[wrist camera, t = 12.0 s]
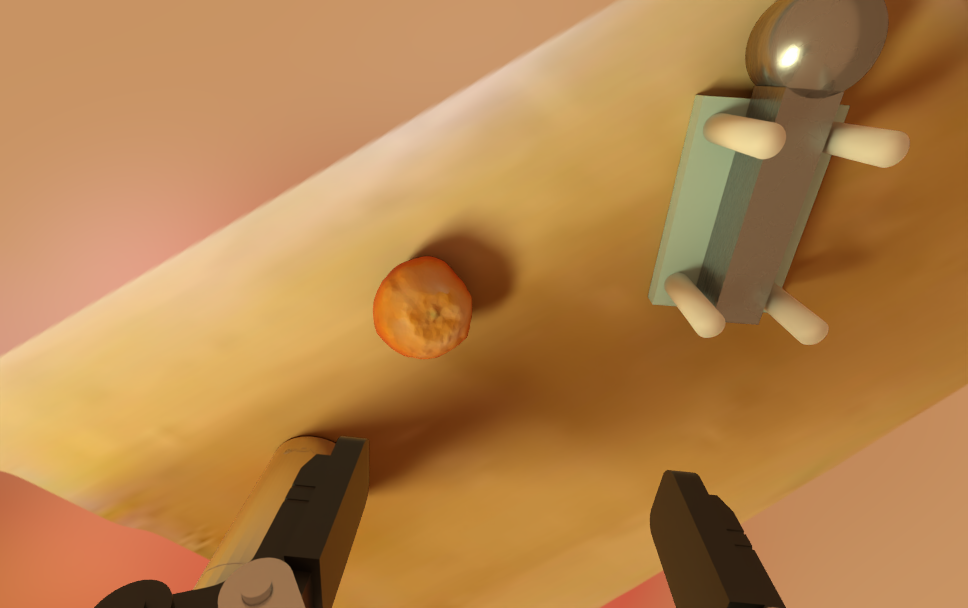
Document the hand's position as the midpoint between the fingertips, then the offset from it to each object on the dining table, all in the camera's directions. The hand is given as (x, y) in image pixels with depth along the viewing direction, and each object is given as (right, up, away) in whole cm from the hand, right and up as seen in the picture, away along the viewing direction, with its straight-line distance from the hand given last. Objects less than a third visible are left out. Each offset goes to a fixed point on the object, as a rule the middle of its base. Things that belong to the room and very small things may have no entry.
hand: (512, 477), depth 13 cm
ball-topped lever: (+19, +16, +21) cm, 32 cm away
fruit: (-6, +6, +29) cm, 30 cm away
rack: (+19, +12, +24) cm, 33 cm away
